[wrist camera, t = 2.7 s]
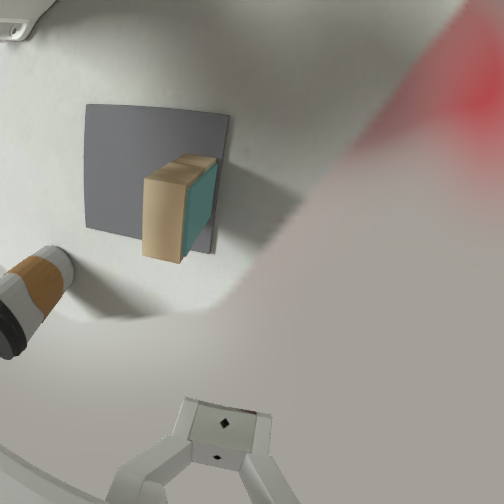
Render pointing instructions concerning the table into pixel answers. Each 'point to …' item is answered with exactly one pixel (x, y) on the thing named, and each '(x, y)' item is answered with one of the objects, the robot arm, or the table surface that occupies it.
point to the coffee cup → (31, 296)
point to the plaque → (177, 206)
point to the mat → (142, 160)
